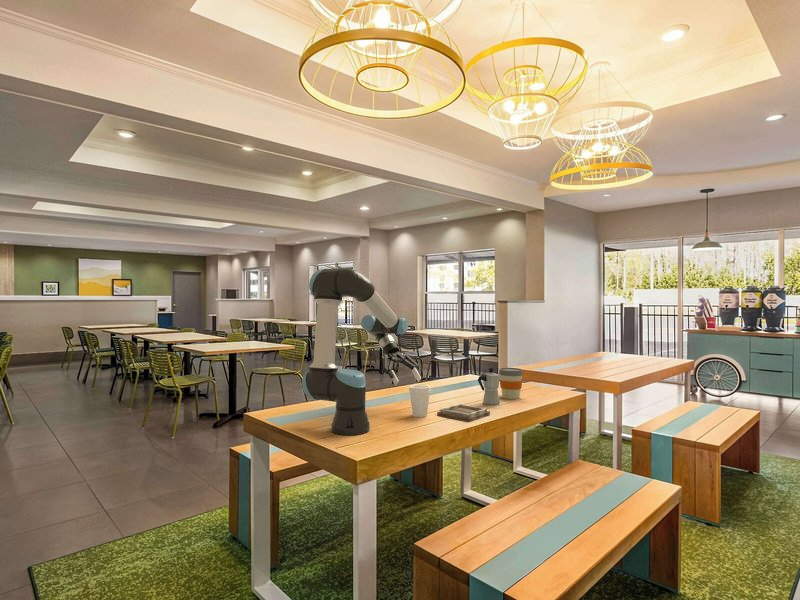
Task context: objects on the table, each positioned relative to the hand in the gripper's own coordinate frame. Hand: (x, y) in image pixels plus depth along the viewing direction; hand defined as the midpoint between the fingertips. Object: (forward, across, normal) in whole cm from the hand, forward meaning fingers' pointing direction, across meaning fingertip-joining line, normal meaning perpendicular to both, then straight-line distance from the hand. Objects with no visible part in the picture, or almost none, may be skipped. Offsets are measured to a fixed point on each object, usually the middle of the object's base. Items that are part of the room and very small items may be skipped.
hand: (408, 381), depth 212 cm
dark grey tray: (+24, -15, +5) cm, 29 cm away
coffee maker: (+18, -43, -2) cm, 47 cm away
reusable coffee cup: (+16, -65, -4) cm, 67 cm away
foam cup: (+16, +1, -4) cm, 17 cm away
